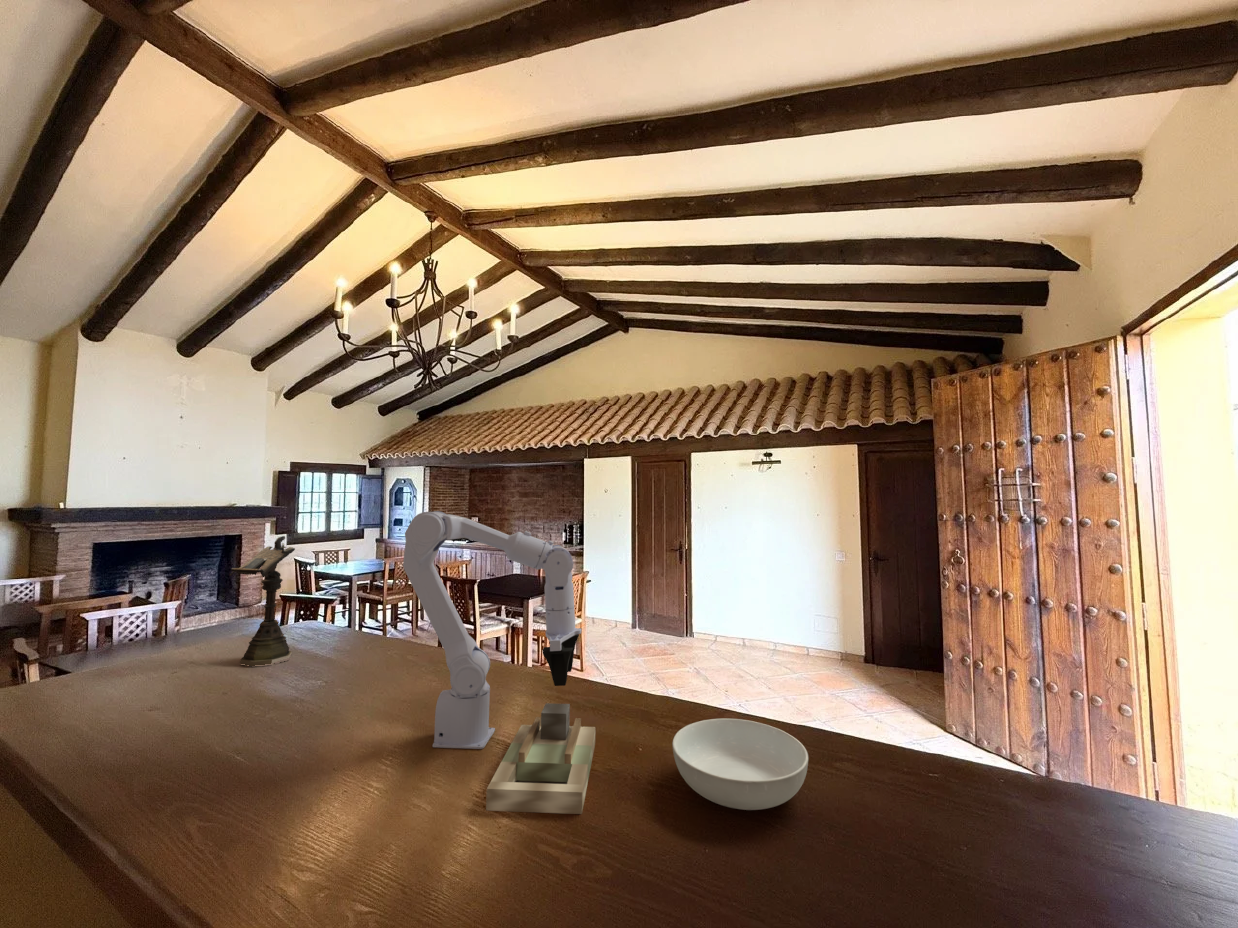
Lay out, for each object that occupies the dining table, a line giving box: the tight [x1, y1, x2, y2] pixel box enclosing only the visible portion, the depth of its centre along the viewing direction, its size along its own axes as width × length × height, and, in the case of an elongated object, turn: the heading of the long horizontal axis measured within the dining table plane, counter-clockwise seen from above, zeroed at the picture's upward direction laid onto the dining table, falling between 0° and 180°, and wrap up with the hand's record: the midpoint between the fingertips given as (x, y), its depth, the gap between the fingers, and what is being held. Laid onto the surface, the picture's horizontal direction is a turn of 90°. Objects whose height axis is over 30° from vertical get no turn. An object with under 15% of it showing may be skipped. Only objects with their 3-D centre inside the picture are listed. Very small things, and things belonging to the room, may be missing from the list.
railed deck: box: [485, 716, 596, 815], centre depth 85 cm, size 14×22×4 cm, turn 178°
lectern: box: [229, 535, 296, 666], centre depth 142 cm, size 17×13×35 cm
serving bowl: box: [671, 717, 809, 811], centre depth 81 cm, size 21×21×7 cm
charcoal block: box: [540, 702, 571, 740], centre depth 93 cm, size 4×4×4 cm
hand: (563, 678), depth 100 cm, fingers open, 7 cm apart
